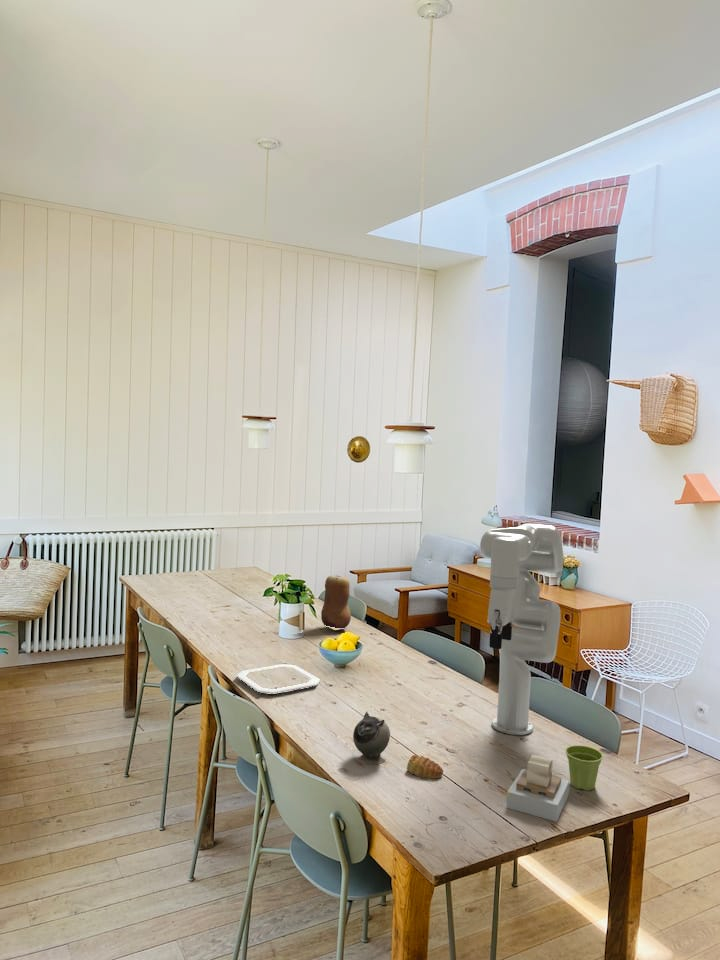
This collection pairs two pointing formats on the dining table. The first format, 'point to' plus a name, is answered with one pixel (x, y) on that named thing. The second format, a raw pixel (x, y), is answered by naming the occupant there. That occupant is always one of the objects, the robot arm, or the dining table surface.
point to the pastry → (424, 767)
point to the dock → (538, 800)
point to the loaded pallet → (539, 788)
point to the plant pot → (583, 766)
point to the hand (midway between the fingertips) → (500, 643)
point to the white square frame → (312, 682)
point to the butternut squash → (336, 602)
